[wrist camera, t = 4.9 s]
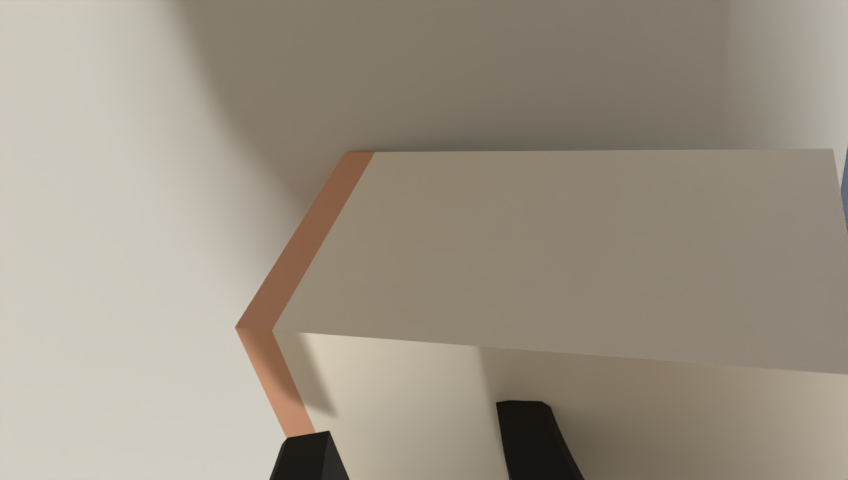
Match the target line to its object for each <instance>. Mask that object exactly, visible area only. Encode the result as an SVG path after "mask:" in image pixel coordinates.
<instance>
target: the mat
mask: <svg viewBox="0 0 848 480" xmlns="http://www.w3.org/2000/svg"><path fill="white" fill-rule="evenodd" d="M847 146H848V0H0V480H269V479H270V476H271V473H272V471H273V468H274V465H275V462H276V459H277V457H278V454H279V451H280V448H281V445H282V443H283V442H284V441H285V440H286V439H287V438H286V436H285V434H284V432H283V430H282V428H281V425H280V423H279V421H278V419H277V417H276V415H275V413H274V410H273V408H272V406H271V404H270V402H269V400H268V398H267V395H266V393H265V391H264V389H263V387H262V385H261V383H260V380H259V378H258V376H257V374H256V372H255V370H254V368H253V366H252V363H251V361H250V359H249V357H248V355H247V353H246V351H245V348H244V346H243V344H242V342H241V340H240V338H239V336H238V333H237V331H236V329H235V326H236V325H237V323H238V321H239V320H240V318H241V317H242V315H243V313H244V312H245V310H246V309H247V307H248V305H249V304H250V302H251V301H252V299H253V298H254V296H255V294H256V293H257V291H258V290H259V288H260V286H261V285H262V283H263V282H264V280H265V278H266V277H267V275H268V274H269V272H270V271H271V269H272V267H273V266H274V264H275V263H276V261H277V259H278V258H279V256H280V255H281V253H282V252H283V250H284V248H285V247H286V245H287V244H288V242H289V240H290V239H291V237H292V236H293V234H294V232H295V231H296V229H297V228H298V226H299V225H300V223H301V221H302V220H303V218H304V217H305V215H306V213H307V212H308V210H309V209H310V207H311V205H312V204H313V202H314V201H315V199H316V198H317V196H318V194H319V193H320V191H321V190H322V188H323V186H324V185H325V183H326V182H327V180H328V178H329V177H330V175H331V174H332V172H333V171H334V169H335V167H336V166H337V164H338V163H339V161H340V159H341V158H342V156H343V155H344V153H345V152H442V151H585V150H727V149H833V153H834V158H835V164H836V170H837V176H838V181H839V187H840V190H841V183H842V177H843V171H844V165H845V158H846V152H847Z"/></svg>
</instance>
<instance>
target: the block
mask: <svg viewBox="0 0 848 480" xmlns="http://www.w3.org/2000/svg"><path fill="white" fill-rule="evenodd" d="M235 329H236V331H237V333H238V336H239V338H240V340H241V342H242V344H243V346H244V348H245V351H246V353H247V355H248V357H249V359H250V361H251V363H252V366H253V368H254V370H255V372H256V374H257V376H258V378H259V380H260V383H261V385H262V387H263V389H264V391H265V393H266V395H267V398H268V400H269V402H270V404H271V406H272V408H273V410H274V413H275V415H276V417H277V419H278V421H279V423H280V425H281V428H282V430H283V432H284V434H285V436H286V438H288V437H294V436H300V435H306V434H312V433H317V432H323V431H329V430H330V433H331V435H332V438H333V440H334V443H335V445H336V448H337V450H338V453H339V455H340V457H341V460H342V462H343V465H344V467H345V470H346V472H347V475H348V477H349V479H350V480H509V476H508V471H507V466H506V461H505V456H504V451H503V445H502V439H501V432H500V426H499V420H498V413H497V407H496V402H501V401H507V400H520V401H542V402H544V403H546V404H547V405H549V406H550V407H551V409H552V411H553V414H554V417H555V419H556V422H557V424H558V427H559V429H560V431H561V434H562V436H563V438H564V440H565V442H566V444H567V446H568V449H569V451H570V453H571V455H572V457H573V459H574V461H575V462H576V464H577V466H578V468H579V470H580V472H581V474H582V476H583V478H584V479H585V480H848V233H847V227H846V221H845V215H844V210H843V204H842V198H841V193H840V187H839V181H838V176H837V170H836V164H835V158H834V153H833V149H727V150H585V151H442V152H345V153H344V155H343V156H342V158H341V159H340V161H339V163H338V164H337V166H336V167H335V169H334V171H333V172H332V174H331V175H330V177H329V178H328V180H327V182H326V183H325V185H324V186H323V188H322V190H321V191H320V193H319V194H318V196H317V198H316V199H315V201H314V202H313V204H312V205H311V207H310V209H309V210H308V212H307V213H306V215H305V217H304V218H303V220H302V221H301V223H300V225H299V226H298V228H297V229H296V231H295V232H294V234H293V236H292V237H291V239H290V240H289V242H288V244H287V245H286V247H285V248H284V250H283V252H282V253H281V255H280V256H279V258H278V259H277V261H276V263H275V264H274V266H273V267H272V269H271V271H270V272H269V274H268V275H267V277H266V278H265V280H264V282H263V283H262V285H261V286H260V288H259V290H258V291H257V293H256V294H255V296H254V298H253V299H252V301H251V302H250V304H249V305H248V307H247V309H246V310H245V312H244V313H243V315H242V317H241V318H240V320H239V321H238V323H237V325H236V326H235Z"/></svg>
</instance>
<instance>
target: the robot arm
mask: <svg viewBox="0 0 848 480" xmlns="http://www.w3.org/2000/svg"><path fill="white" fill-rule="evenodd" d="M496 407H497V413H498V420H499V426H500V432H501V439H502V445H503V451H504V456H505V461H506V466H507V471H508V476H509V480H585V479H584V478H583V476H582V474H581V472H580V470H579V468H578V466H577V464H576V462H575V461H574V459H573V457H572V455H571V453H570V451H569V449H568V446H567V444H566V442H565V440H564V438H563V436H562V434H561V431H560V429H559V427H558V424H557V422H556V419H555V417H554V414H553V411H552V409H551V407H550V406H549V405H547V404H546V403H544V402H542V401H520V400H507V401H501V402H496ZM269 480H350V479H349V477H348V475H347V472H346V470H345V467H344V465H343V462H342V460H341V457H340V455H339V453H338V450H337V448H336V445H335V443H334V440H333V438H332V435H331V433H330V430H329V431H323V432H317V433H312V434H306V435H300V436H294V437H288V438H287V439H286V440H285V441H284V442H283V443H282V445H281V448H280V451H279V454H278V457H277V459H276V462H275V465H274V468H273V471H272V473H271V476H270V479H269Z"/></svg>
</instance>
